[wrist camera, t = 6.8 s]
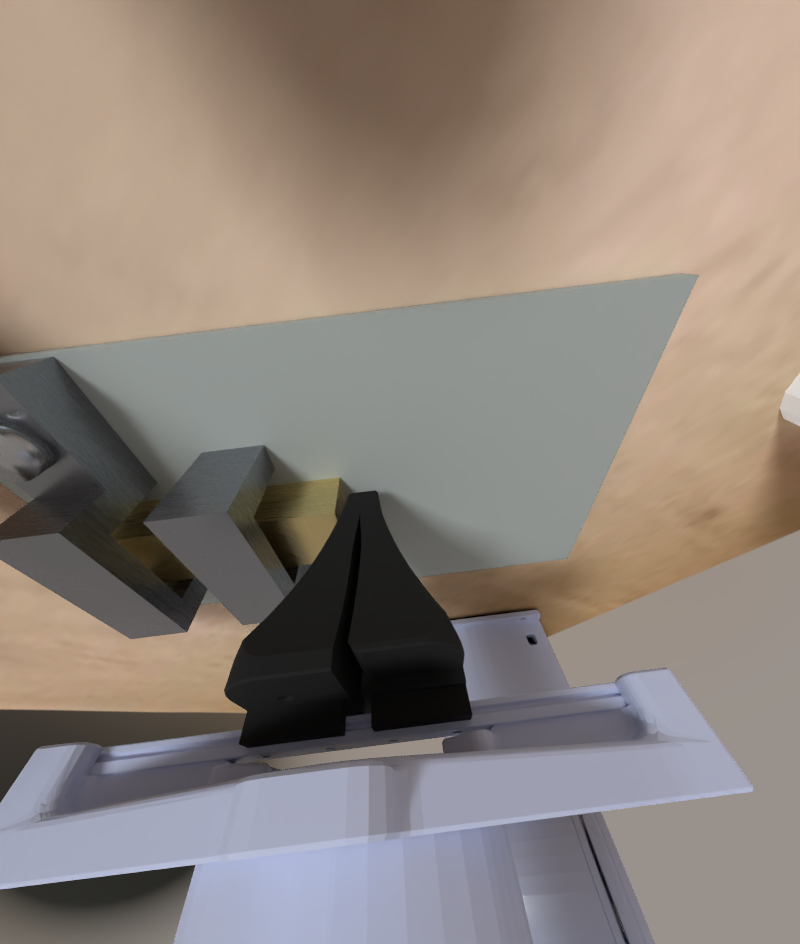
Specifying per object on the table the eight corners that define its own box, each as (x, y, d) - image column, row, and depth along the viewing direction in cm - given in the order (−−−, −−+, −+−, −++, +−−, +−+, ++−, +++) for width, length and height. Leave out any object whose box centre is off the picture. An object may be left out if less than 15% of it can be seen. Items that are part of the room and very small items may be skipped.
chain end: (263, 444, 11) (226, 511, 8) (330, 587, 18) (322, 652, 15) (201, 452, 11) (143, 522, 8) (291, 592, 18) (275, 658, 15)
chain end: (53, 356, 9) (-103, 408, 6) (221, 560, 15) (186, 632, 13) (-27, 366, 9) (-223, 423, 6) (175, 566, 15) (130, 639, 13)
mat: (682, 273, 9) (699, 274, 9) (562, 550, 19) (567, 558, 18) (-110, 369, 9) (-137, 375, 9) (168, 600, 18) (162, 609, 18)
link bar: (339, 477, 13) (334, 513, 11) (352, 522, 14) (350, 559, 13) (92, 507, 13) (48, 548, 11) (137, 548, 14) (105, 589, 13)
